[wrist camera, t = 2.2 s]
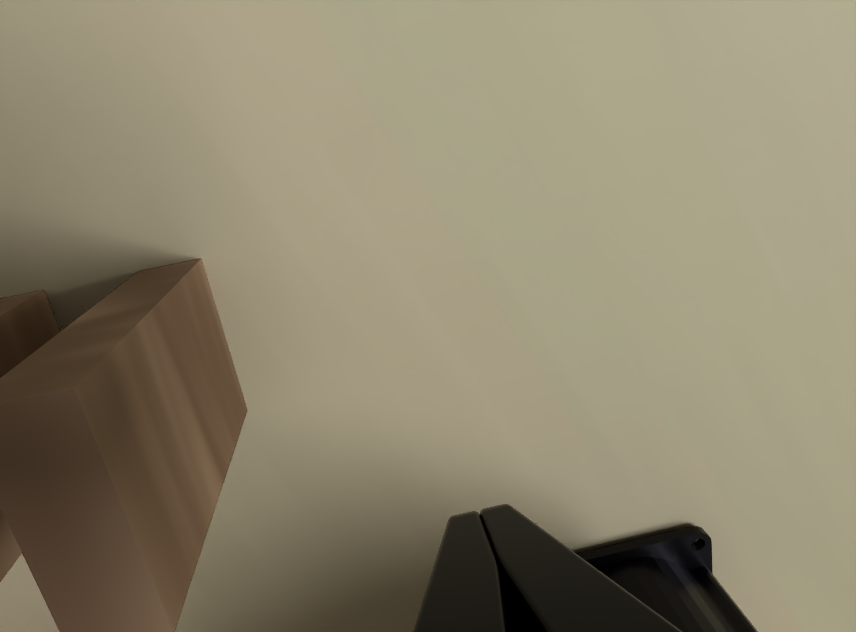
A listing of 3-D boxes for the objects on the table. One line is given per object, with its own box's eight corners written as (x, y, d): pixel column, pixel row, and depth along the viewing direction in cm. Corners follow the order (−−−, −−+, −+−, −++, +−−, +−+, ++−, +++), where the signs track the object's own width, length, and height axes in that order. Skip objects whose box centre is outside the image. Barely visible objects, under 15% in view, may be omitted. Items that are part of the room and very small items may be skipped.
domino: (201, 258, 18) (74, 388, 10) (247, 410, 20) (173, 634, 11) (138, 271, 18) (-45, 413, 10) (190, 422, 20) (72, 658, 11)
